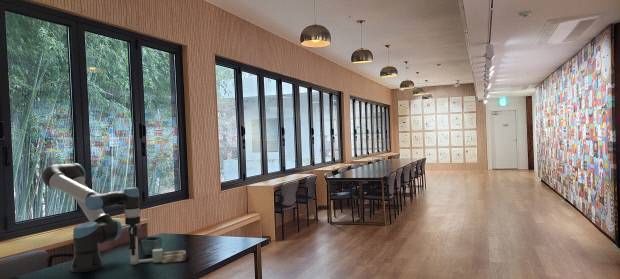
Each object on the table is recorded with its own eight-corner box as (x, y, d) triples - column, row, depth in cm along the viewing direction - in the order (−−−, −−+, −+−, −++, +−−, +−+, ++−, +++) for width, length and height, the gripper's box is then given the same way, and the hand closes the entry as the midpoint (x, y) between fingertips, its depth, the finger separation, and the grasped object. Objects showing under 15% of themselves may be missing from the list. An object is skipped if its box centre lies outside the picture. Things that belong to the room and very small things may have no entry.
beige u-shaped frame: (162, 263, 242) (162, 256, 242) (163, 258, 252) (163, 252, 252) (185, 260, 245) (185, 254, 245) (186, 256, 255) (185, 250, 255)
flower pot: (155, 256, 258) (154, 240, 258) (141, 255, 260) (140, 240, 260) (163, 252, 267) (162, 236, 267) (149, 252, 269) (149, 236, 269)
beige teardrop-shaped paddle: (130, 265, 240) (128, 238, 240) (131, 262, 245) (130, 236, 245) (162, 261, 245) (161, 235, 245) (163, 259, 249) (162, 233, 249)
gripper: (137, 218, 235) (139, 263, 235) (141, 213, 254) (143, 254, 254) (122, 220, 233) (124, 264, 233) (127, 214, 252) (129, 255, 252)
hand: (134, 259), depth 243 cm, fingers open, 6 cm apart
